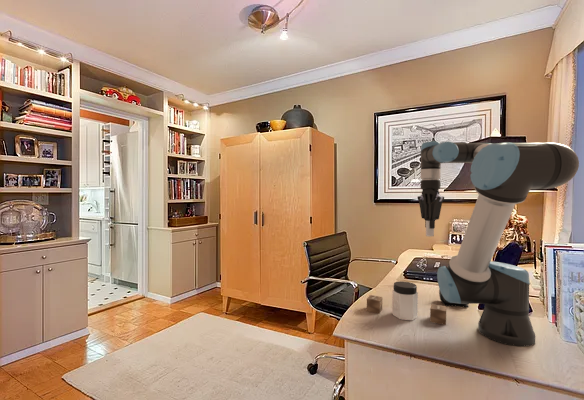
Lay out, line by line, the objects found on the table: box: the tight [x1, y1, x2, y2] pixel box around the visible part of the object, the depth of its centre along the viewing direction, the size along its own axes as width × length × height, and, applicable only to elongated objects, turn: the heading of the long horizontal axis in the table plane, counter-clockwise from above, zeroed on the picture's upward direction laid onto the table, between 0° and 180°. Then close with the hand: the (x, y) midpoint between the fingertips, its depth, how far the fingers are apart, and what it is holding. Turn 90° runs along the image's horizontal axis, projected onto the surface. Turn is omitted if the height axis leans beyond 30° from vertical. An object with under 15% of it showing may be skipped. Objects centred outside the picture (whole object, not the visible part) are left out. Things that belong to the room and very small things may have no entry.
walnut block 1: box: [429, 303, 447, 326], centre depth 107 cm, size 5×5×5 cm
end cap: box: [438, 288, 469, 308], centre depth 124 cm, size 10×7×7 cm
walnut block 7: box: [366, 294, 383, 314], centre depth 117 cm, size 5×5×5 cm
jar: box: [391, 280, 419, 321], centre depth 112 cm, size 9×8×12 cm
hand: (429, 236), depth 124 cm, fingers closed
